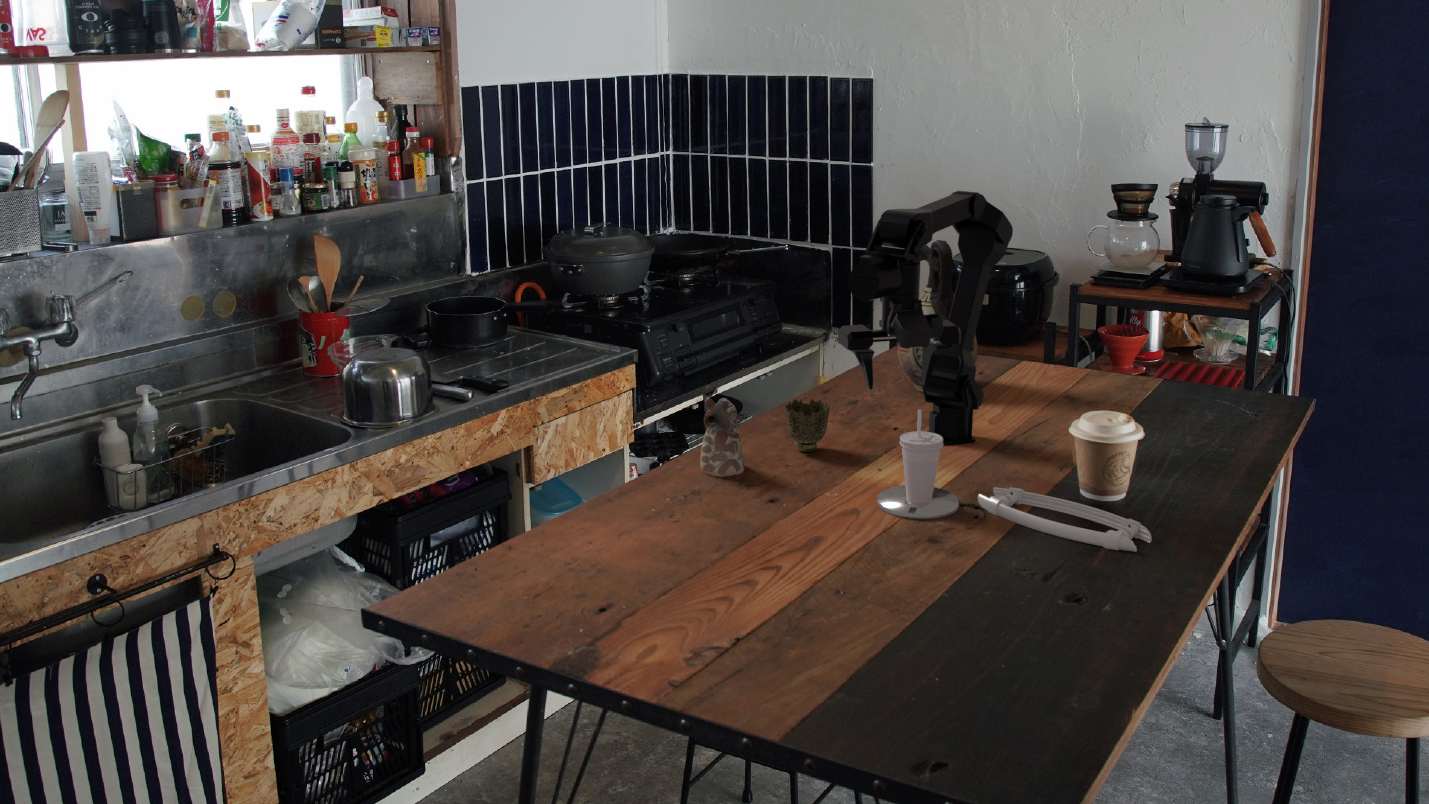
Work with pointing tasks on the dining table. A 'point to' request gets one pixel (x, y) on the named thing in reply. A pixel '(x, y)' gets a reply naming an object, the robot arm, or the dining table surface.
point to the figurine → (721, 440)
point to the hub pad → (899, 506)
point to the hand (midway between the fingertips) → (897, 387)
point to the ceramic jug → (933, 305)
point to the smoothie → (920, 462)
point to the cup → (807, 423)
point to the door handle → (1108, 540)
